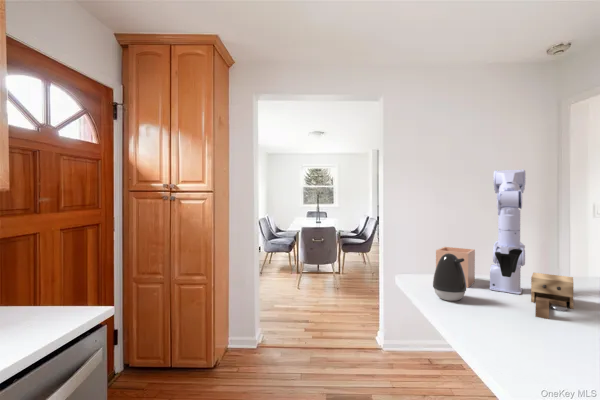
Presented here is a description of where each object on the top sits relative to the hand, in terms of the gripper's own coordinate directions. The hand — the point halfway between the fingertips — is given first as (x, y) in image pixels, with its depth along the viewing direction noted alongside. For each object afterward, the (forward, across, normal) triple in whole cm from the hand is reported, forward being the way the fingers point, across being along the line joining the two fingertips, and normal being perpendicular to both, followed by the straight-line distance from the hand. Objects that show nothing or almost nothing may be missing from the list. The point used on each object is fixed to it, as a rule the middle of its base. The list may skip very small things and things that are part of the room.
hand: (508, 274), depth 101 cm
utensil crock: (+10, +21, +21) cm, 32 cm away
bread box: (+10, +16, -10) cm, 21 cm away
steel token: (+11, +9, -12) cm, 18 cm away
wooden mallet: (+10, +4, -10) cm, 15 cm away
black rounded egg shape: (+11, -2, +16) cm, 20 cm away
